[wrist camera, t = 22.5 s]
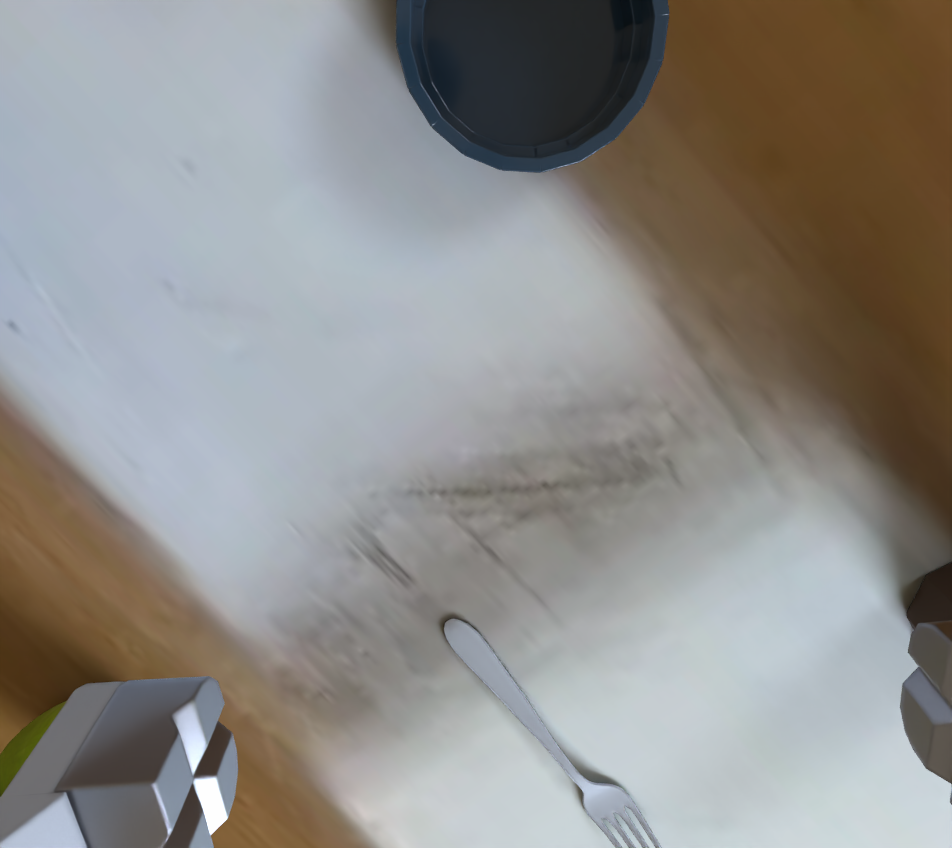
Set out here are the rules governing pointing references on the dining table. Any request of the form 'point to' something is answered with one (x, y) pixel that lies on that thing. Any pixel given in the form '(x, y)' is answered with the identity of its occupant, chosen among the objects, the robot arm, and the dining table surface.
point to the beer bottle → (933, 598)
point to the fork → (545, 733)
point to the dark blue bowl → (530, 73)
